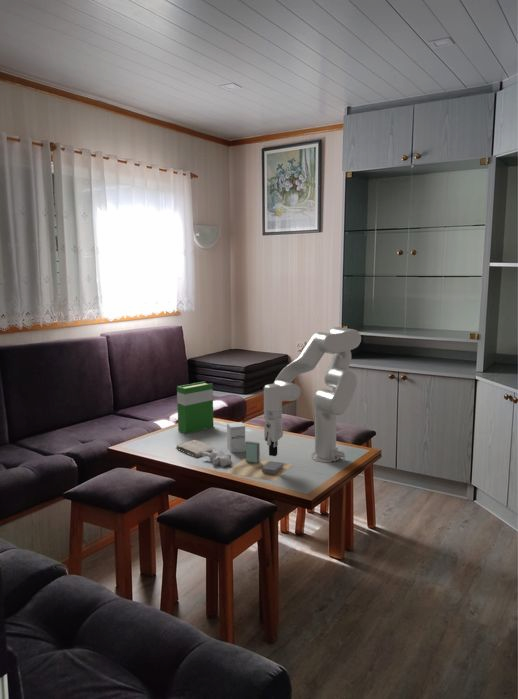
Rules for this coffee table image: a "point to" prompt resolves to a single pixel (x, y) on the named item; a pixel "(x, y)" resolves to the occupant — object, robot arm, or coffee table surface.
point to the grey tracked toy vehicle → (195, 448)
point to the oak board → (256, 470)
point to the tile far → (252, 452)
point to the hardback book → (195, 407)
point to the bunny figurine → (218, 457)
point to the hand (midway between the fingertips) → (273, 455)
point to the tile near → (272, 467)
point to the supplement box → (236, 437)
